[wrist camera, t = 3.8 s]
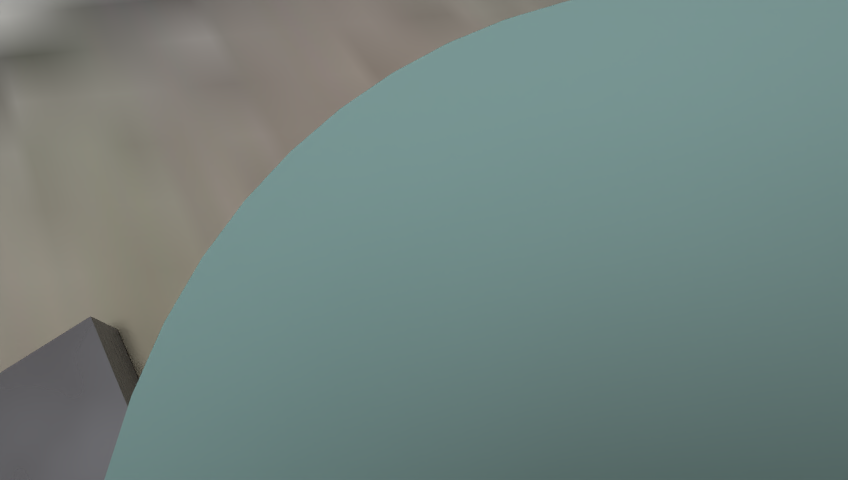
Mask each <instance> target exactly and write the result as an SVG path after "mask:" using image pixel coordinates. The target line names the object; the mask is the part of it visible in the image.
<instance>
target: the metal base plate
mask: <svg viewBox="0 0 848 480" xmlns="http://www.w3.org/2000/svg"><path fill="white" fill-rule="evenodd" d="M138 380H139V379H138V377H137V375H136V372H135V370H134V368H133V365H132V363H131V361H130V358H129V356H128V354H127V351H126V349H125V347H124V344H123V342H122V340H121V337H120V335H119V333H118V330H117V329H115V328H113V327H111V326H109V325H107V324H105V323H103V322H101V321H99V320H97V319H95V318H93V317H89V318H87V319H86V320H84V321H83V322H81V323H79V324H78V325H76V326H75V327H73V328H71V329H70V330H68V331H67V332H65V333H63V334H62V335H60V336H59V337H57V338H55V339H54V340H52V341H50V342H49V343H47V344H46V345H44V346H42V347H41V348H39V349H38V350H36V351H34V352H33V353H31V354H30V355H28V356H26V357H25V358H23V359H22V360H20V361H18V362H17V363H15V364H14V365H12V366H10V367H9V368H7V369H6V370H4V371H2V372H1V373H0V480H104V479H105V476H106V473H107V470H108V467H109V464H110V460H111V457H112V454H113V451H114V448H115V445H116V442H117V439H118V436H119V433H120V430H121V426H122V423H123V420H124V417H125V414H126V411H127V408H128V405H129V402H130V399H131V396H132V394H133V391H134V389H135V387H136V385H137V382H138Z"/></svg>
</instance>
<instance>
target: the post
mask: <svg viewBox="0 0 848 480" xmlns="http://www.w3.org/2000/svg"><path fill="white" fill-rule="evenodd" d="M104 480H848V0H571V1H566V2H563V3H559V4H556V5H553V6H549V7H546V8H542V9H539V10H536V11H532V12H529V13H526V14H522V15H519V16H515V17H512V18H509V19H506V20H503V21H501V22H498V23H496V24H493V25H491V26H488V27H486V28H484V29H481V30H479V31H476V32H474V33H471V34H469V35H467V36H464V37H462V38H459V39H457V40H454V41H452V42H450V43H447V44H445V45H444V46H442V47H440V48H438V49H436V50H434V51H432V52H431V53H429V54H427V55H425V56H423V57H421V58H419V59H418V60H416V61H414V62H412V63H410V64H408V65H406V66H405V67H403V68H401V69H399V70H397V71H395V72H393V73H392V74H390V75H389V76H387V77H386V78H385V79H383V80H382V81H380V82H379V83H377V84H376V85H374V86H373V87H371V88H370V89H368V90H367V91H366V92H364V93H363V94H361V95H360V96H358V97H357V98H355V99H354V100H352V101H351V102H350V103H348V104H347V105H345V106H344V107H342V108H341V109H339V110H338V111H337V112H336V113H335V114H334V115H332V116H331V117H330V118H329V119H328V120H327V121H326V122H324V123H323V124H322V125H321V126H320V127H319V128H317V129H316V130H315V131H314V132H313V133H312V134H310V135H309V136H308V137H307V138H306V139H305V140H303V141H302V142H301V143H300V144H299V145H298V146H296V147H295V148H294V149H293V150H292V151H291V152H290V153H289V154H288V155H287V156H286V157H285V158H284V159H283V160H282V161H281V162H280V163H279V165H278V166H277V167H276V168H275V169H274V170H273V171H272V172H271V173H270V174H269V175H268V176H267V177H266V178H265V180H264V181H263V182H262V183H261V184H260V185H259V186H258V187H257V188H256V189H255V190H254V191H253V192H252V193H251V195H250V196H249V197H248V198H247V199H246V200H245V201H244V202H243V204H242V205H241V206H240V208H239V209H238V210H237V212H236V213H235V214H234V216H233V217H232V218H231V220H230V221H229V222H228V224H227V225H226V226H225V228H224V229H223V231H222V232H221V233H220V235H219V236H218V237H217V239H216V240H215V241H214V243H213V244H212V245H211V247H210V248H209V249H208V251H207V252H206V253H205V255H204V256H203V257H202V259H201V261H200V262H199V264H198V266H197V268H196V269H195V271H194V273H193V274H192V276H191V278H190V279H189V281H188V283H187V285H186V286H185V288H184V290H183V291H182V293H181V295H180V297H179V298H178V300H177V302H176V303H175V305H174V307H173V309H172V310H171V312H170V314H169V315H168V317H167V319H166V320H165V322H164V324H163V327H162V329H161V331H160V333H159V335H158V338H157V340H156V342H155V344H154V347H153V349H152V351H151V353H150V356H149V358H148V360H147V362H146V364H145V367H144V369H143V371H142V373H141V376H140V378H139V380H138V382H137V385H136V387H135V389H134V391H133V394H132V396H131V399H130V402H129V405H128V408H127V411H126V414H125V417H124V420H123V423H122V426H121V430H120V433H119V436H118V439H117V442H116V445H115V448H114V451H113V454H112V457H111V460H110V464H109V467H108V470H107V473H106V476H105V479H104Z"/></svg>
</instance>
